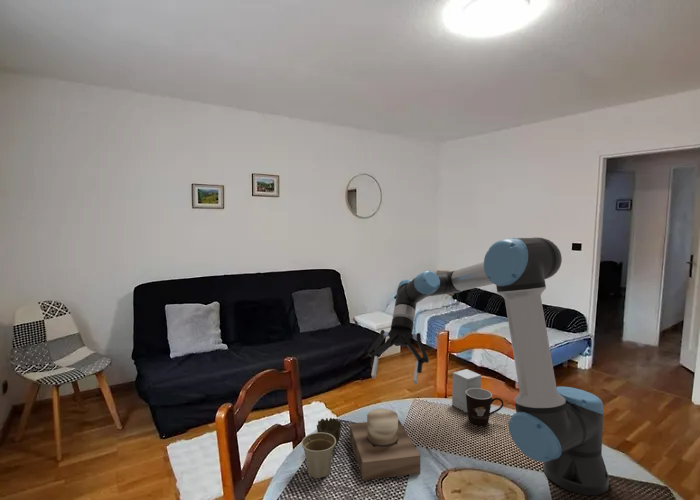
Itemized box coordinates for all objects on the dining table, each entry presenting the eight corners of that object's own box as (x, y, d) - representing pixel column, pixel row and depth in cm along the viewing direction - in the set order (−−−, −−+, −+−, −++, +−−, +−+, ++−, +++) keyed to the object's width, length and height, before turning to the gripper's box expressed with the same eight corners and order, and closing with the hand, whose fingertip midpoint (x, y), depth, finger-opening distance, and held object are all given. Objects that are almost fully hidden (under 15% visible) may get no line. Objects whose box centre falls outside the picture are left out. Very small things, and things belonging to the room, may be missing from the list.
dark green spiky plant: (338, 457, 113) (338, 431, 112) (314, 454, 114) (313, 428, 114) (343, 443, 120) (343, 418, 120) (320, 440, 122) (320, 416, 121)
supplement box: (466, 413, 138) (466, 379, 137) (451, 405, 145) (451, 372, 144) (481, 408, 142) (481, 374, 141) (465, 400, 148) (466, 368, 147)
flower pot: (304, 460, 112) (304, 431, 111) (337, 461, 111) (337, 432, 111) (299, 482, 102) (298, 451, 102) (335, 483, 102) (334, 451, 101)
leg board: (420, 473, 106) (420, 455, 105) (362, 480, 103) (362, 462, 103) (398, 433, 125) (398, 418, 125) (349, 439, 123) (349, 423, 122)
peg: (402, 459, 110) (402, 422, 110) (371, 463, 109) (370, 425, 108) (393, 441, 119) (393, 407, 119) (364, 445, 118) (364, 410, 117)
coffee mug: (461, 423, 131) (461, 395, 131) (469, 413, 138) (470, 386, 138) (497, 434, 125) (497, 403, 124) (503, 422, 132) (504, 394, 131)
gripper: (440, 328, 134) (434, 389, 122) (371, 323, 143) (359, 379, 130) (438, 317, 129) (432, 379, 116) (366, 312, 137) (353, 370, 125)
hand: (393, 379), depth 123 cm, fingers open, 13 cm apart
